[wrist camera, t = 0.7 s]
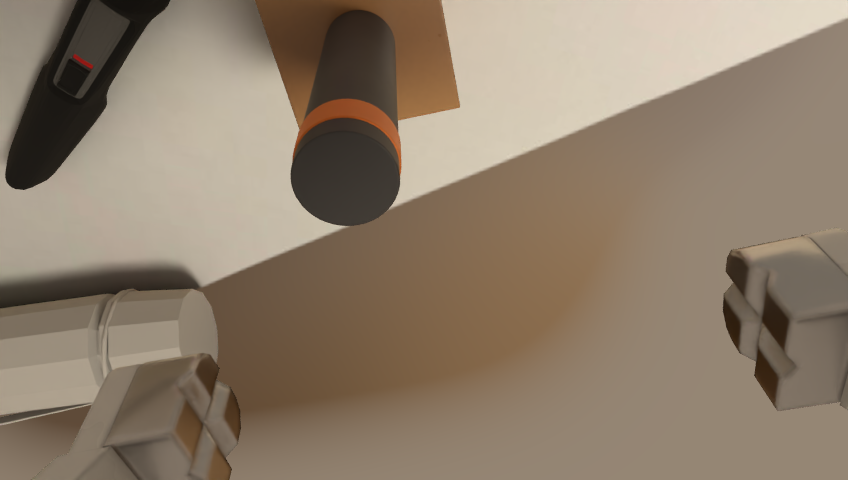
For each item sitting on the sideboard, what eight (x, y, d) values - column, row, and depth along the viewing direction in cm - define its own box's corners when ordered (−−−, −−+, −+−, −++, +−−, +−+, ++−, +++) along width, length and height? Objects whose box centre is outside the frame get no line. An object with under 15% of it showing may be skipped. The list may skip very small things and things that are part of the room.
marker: (314, 17, 24) (272, 142, 15) (387, 1, 24) (387, 118, 15) (335, 86, 26) (308, 237, 17) (403, 72, 26) (412, 216, 17)
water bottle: (-249, 387, 37) (161, 331, 36) (-152, 305, 44) (197, 257, 43) (-154, 484, 42) (211, 437, 41) (-79, 398, 49) (236, 356, 48)
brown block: (282, -70, 31) (245, -26, 23) (417, -102, 31) (429, -68, 23) (322, 62, 35) (302, 140, 27) (443, 36, 35) (460, 108, 27)
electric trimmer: (3, 144, 38) (-26, 170, 35) (116, -73, 31) (91, -60, 28) (65, 179, 39) (42, 206, 37) (185, -21, 33) (168, -5, 30)
